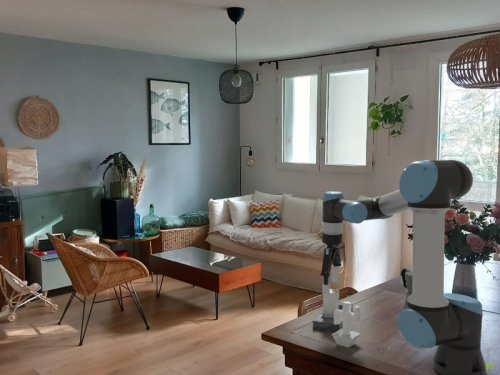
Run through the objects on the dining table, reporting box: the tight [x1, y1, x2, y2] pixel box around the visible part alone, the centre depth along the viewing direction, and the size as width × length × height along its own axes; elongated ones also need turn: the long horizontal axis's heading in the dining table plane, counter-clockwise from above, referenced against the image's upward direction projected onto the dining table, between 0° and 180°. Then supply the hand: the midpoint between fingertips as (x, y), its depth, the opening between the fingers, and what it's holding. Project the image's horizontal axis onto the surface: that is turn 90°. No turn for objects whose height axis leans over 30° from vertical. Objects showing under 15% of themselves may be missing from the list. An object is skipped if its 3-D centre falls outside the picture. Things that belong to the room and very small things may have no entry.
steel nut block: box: [322, 288, 340, 320], centre depth 189 cm, size 5×5×13 cm
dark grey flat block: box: [312, 302, 354, 333], centre depth 195 cm, size 24×10×3 cm, turn 157°
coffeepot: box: [400, 267, 413, 309], centre depth 207 cm, size 15×9×18 cm, turn 26°
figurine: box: [331, 301, 361, 349], centre depth 171 cm, size 7×9×15 cm
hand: (330, 287), depth 189 cm, fingers open, 13 cm apart
